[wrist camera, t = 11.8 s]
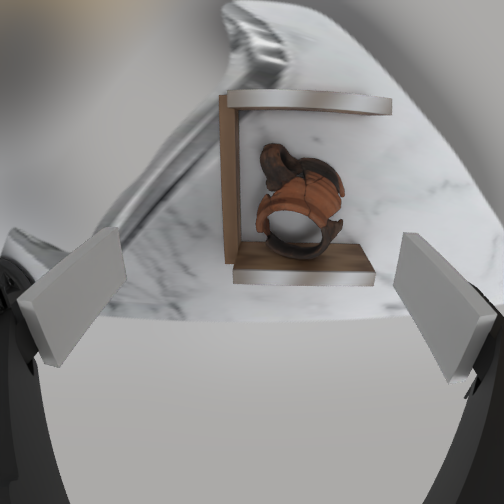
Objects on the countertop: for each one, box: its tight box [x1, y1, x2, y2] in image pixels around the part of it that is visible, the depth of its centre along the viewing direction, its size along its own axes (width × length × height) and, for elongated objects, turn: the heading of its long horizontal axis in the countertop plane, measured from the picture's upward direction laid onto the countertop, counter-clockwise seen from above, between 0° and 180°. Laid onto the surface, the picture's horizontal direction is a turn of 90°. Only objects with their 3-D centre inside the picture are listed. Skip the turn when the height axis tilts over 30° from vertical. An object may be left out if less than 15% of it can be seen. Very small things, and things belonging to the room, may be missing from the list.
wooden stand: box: [219, 89, 392, 286], centre depth 30 cm, size 16×18×7 cm
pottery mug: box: [255, 143, 345, 260], centre depth 31 cm, size 12×9×8 cm
